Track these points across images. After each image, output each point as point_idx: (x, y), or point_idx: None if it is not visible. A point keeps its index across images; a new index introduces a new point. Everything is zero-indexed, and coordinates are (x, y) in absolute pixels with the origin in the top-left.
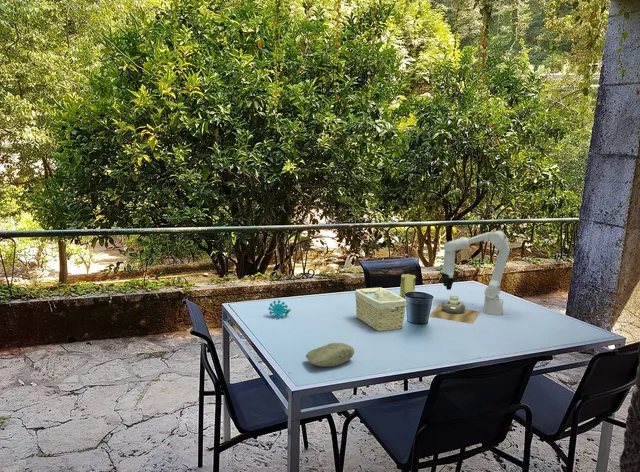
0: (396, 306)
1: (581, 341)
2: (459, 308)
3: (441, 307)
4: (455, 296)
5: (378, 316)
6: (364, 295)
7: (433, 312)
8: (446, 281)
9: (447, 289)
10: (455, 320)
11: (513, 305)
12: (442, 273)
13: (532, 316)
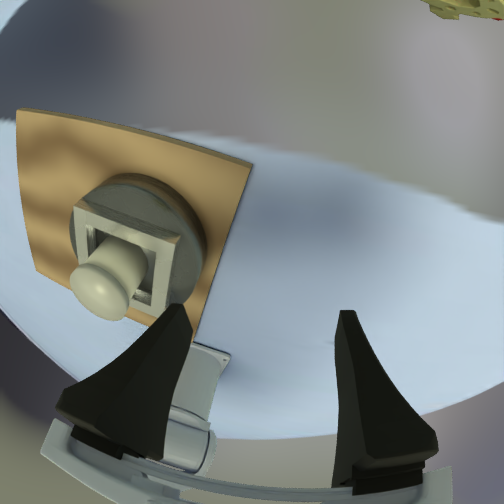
0: None
1: None
2: None
3: (183, 177)
4: (114, 309)
5: None
6: None
7: (67, 126)
8: (98, 371)
9: (170, 308)
10: (28, 222)
11: (326, 415)
12: (388, 463)
13: (223, 414)
